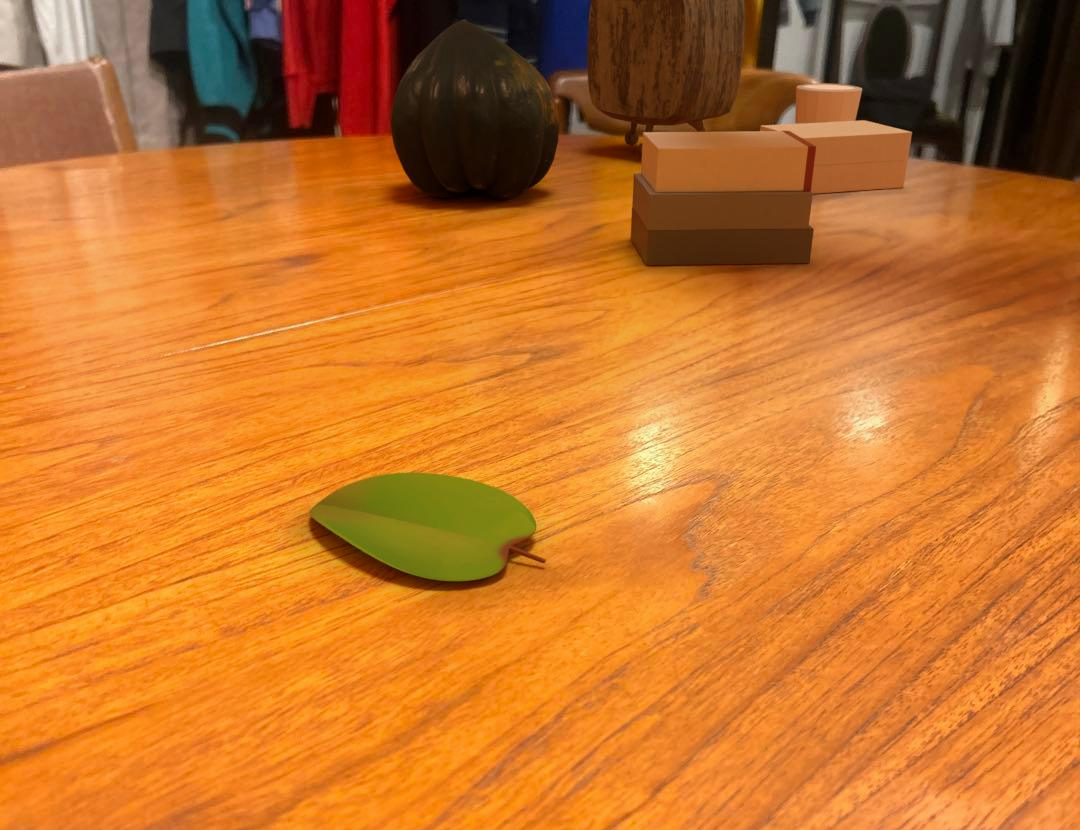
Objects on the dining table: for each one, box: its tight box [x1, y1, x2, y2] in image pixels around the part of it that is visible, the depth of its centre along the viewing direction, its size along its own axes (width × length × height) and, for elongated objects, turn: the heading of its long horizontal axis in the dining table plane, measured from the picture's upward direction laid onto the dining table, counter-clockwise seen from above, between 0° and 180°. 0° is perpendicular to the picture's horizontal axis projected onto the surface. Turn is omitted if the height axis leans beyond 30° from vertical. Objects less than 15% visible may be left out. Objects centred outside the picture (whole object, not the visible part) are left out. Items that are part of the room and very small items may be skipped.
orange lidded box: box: [759, 119, 913, 195], centre depth 104 cm, size 12×8×5 cm, turn 109°
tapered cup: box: [794, 82, 863, 124], centre depth 117 cm, size 7×7×7 cm
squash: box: [390, 19, 560, 201], centre depth 98 cm, size 14×15×15 cm
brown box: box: [630, 172, 815, 267], centre depth 81 cm, size 12×8×5 cm, turn 94°
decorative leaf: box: [308, 472, 547, 582], centre depth 43 cm, size 8×9×1 cm
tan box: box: [640, 130, 816, 193], centre depth 79 cm, size 11×7×3 cm, turn 94°
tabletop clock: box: [586, 0, 746, 158], centre depth 112 cm, size 14×9×25 cm, turn 49°
